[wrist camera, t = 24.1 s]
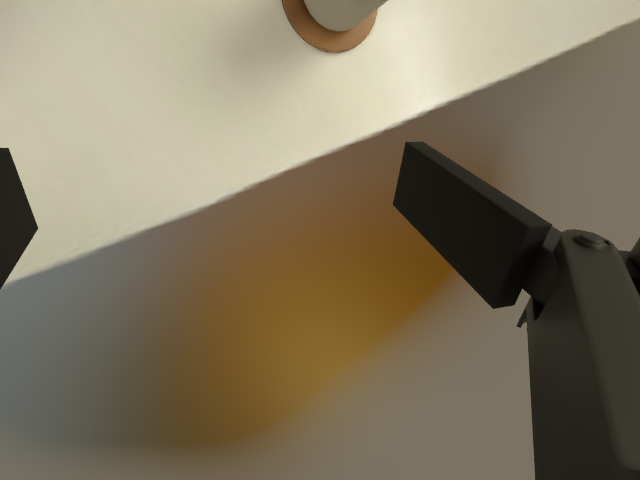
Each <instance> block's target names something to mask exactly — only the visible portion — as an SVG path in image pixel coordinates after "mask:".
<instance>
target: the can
mask: <svg viewBox="0 0 640 480" xmlns="http://www.w3.org/2000/svg"><path fill="white" fill-rule="evenodd" d="M386 1H388V0H304V2H305V4H306V6H307V8H308V10H309V13H310V14H311V15H312V16H313V18H314V19H315V20H316V21H317V22H318V23H319V24H321V25H322V26H324V27H325V28H327V29H329V30H334V31H338V32H339V31H346V30H349V29H351V28H353V27H355V26H356V25H358V24H359V23H360V22H361V21H363V20H364V19H365V18H366V17H368V16H369V15H370V14H371V13H373V12H374V11H375V10H376V9H378V8H379V7H380V6H381V5H383V4H384V3H385V2H386Z"/></svg>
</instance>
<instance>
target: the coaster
mask: <svg viewBox="0 0 640 480" xmlns="http://www.w3.org/2000/svg"><path fill="white" fill-rule="evenodd" d="M282 2H283V7H284V9H285V12H286V15H287V17H288V19H289V21H290V23H291V24H292V26H293V28H294V29H295V30H296V32H297V33H298V34H299V35H300V36H301V37H302V38H303V39H304V40H305V41H306V42H308V43H309V44H311V45H312V46H314V47H316V48H318V49H320V50H323V51H327V52H343V51H347V50H350V49H352V48H354V47H355V46H357V45H358V44H360V43H361V42H362V41H363V40H364V39H365V38H366V37H367V35H368V34H369V33H370V31H371V29H372V27H373V25H374V22H375V19H376V15H377V9H376V10H375V11H374V12H373V13H371V14H370V15H369V16H368V17H366V18H365V19H364V20H363V21H361V22H360V23H359V24H358V25H356V26H355V27H353V28H351V29H349V30H346V31H339V32H338V31H334V30H329V29H327V28H325V27H324V26H322V25H321V24H319V23H318V22H317V21H316V20H315V19H314V18H313V16H312V15H311V14H310V13H309V10H308V8H307V6H306V4H305V2H304V0H282Z"/></svg>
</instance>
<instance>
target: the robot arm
mask: <svg viewBox="0 0 640 480" xmlns="http://www.w3.org/2000/svg"><path fill="white" fill-rule="evenodd" d="M393 205H394V206H395V207H396V209H398V211H399V212H400V213H401V214H402V215H403V216H404V217H405V218H406V219H407V220H408V221H409V222H410V223H411V224H412V225H413V226H414V227H415V228H416V229H417V230H418V231H419V232H420V233H421V235H423V237H424V238H425V239H426V240H427V241H428V242H429V243H430V244H431V245H432V246H433V247H434V248H435V249H436V250H437V251H438V252H439V253H440V254H441V255H442V256H443V257H444V258H445V259H446V260H447V262H448V263H449V264H450V265H452V267H453V268H455V270H456V271H457V272H458V273H459V274H460V275H461V276H462V277H463V278H464V279H465V280H466V281H467V282H468V283H469V284H470V285H471V286H472V287H473V288H474V290H475V291H477V293H478V294H479V295H480V296H481V297H482V298H483V299H484V300H485V301H486V302H487V303H488V304H489V305H490V306H491V307H492V308H493V309H495V308H500V307H506V306H512V305H514V304H515V303H516V300H517V298H518V296H519V294H520V292H521V290H522V288H523V289H524V290H525V291H526V292H527V293H528V294H529V295H531V297H530V299H529V301H528V303H527V305H526V307H525V309H524V311H523V313H522V315H521V317H520V319H519V321H518V325H517V327H520V328H521V326H522V324H523V323H525V322H527V333H528V352H529V370H530V389H531V408H532V425H533V444H534V463H535V480H640V238H639V240H638V241H637V243H636V244H635V246H634V248H633V249H632V251H631V252H630V251H620V250H618V249H617V248H616V247H615V246H614V244H612V243H611V242H610V241H609V240H607V239H605V238H603V237H600V236H599V235H597V234H594V233H591V232H587V231H582V230H566V231H563V233H562V232H560V231H559V230H557V229H556V228H554V227H553V226H552V224H550V223H549V222H547V221H546V220H544V219H542V218H541V217H539V216H538V215H536V214H535V213H533V212H532V211H530V210H528V209H527V208H525V207H524V206H522V205H521V204H519V203H517V202H516V201H514V200H513V199H511V198H510V197H508V196H506V195H505V194H503V193H502V192H500V191H499V190H497V189H496V188H494V187H492V186H491V185H489V184H488V183H486V182H485V181H483V180H482V179H480V178H479V177H477V176H475V175H474V174H472V173H471V172H469V171H467V170H466V169H464V168H463V167H461V166H460V165H458V164H456V163H455V162H454V161H452V160H450V159H449V158H447V157H446V156H444V155H443V154H441V153H439V152H438V151H436V150H435V149H433V148H431V147H430V146H429V145H427V144H425V143H424V142H406V143H405V148H404V153H403V158H402V163H401V168H400V173H399V178H398V182H397V187H396V192H395V197H394V202H393ZM37 230H38V227H37V224H36V221H35V218H34V216H33V213H32V210H31V208H30V205H29V202H28V199H27V197H26V194H25V191H24V189H23V186H22V183H21V181H20V178H19V175H18V172H17V170H16V167H15V164H14V162H13V159H12V156H11V153H10V151H9V148H0V289H1V287H2V286H3V284H4V283H5V281H6V279H7V278H8V276H9V275H10V273H11V271H12V270H13V268H14V267H15V265H16V263H17V262H18V260H19V259H20V257H21V255H22V254H23V252H24V250H25V249H26V247H27V246H28V244H29V242H30V241H31V239H32V238H33V236H34V234H35V233H36V231H37Z"/></svg>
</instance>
